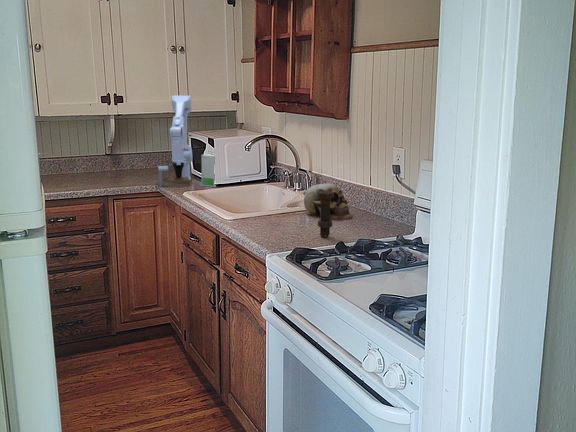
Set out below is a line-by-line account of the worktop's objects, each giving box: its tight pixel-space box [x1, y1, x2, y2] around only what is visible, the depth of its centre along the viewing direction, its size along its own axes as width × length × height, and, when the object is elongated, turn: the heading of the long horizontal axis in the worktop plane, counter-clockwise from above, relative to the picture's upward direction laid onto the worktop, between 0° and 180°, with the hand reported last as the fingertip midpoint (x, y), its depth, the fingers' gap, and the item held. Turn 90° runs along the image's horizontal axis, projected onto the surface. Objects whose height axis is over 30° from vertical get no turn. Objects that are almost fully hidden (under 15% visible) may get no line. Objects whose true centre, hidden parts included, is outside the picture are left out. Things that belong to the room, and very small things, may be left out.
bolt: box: [317, 191, 334, 239], centre depth 196 cm, size 6×5×15 cm
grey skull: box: [303, 183, 353, 221], centre depth 229 cm, size 16×17×13 cm
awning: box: [157, 165, 169, 188], centre depth 299 cm, size 11×5×9 cm, turn 12°
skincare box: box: [201, 153, 217, 188], centre depth 297 cm, size 8×7×16 cm
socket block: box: [162, 176, 190, 188], centre depth 301 cm, size 10×13×3 cm
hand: (178, 177), depth 301 cm, fingers closed on peg, 3 cm apart
